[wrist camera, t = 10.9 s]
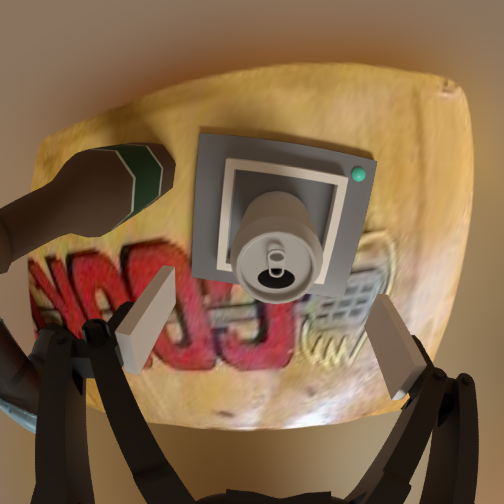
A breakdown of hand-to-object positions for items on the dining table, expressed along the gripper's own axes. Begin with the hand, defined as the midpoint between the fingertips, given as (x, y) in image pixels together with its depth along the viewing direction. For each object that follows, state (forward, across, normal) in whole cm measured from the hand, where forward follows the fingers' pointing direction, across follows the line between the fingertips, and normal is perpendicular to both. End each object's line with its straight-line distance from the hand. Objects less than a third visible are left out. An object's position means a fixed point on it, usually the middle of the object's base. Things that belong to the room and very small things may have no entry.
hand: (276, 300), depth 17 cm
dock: (+17, 0, 0) cm, 17 cm away
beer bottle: (+17, -16, +4) cm, 24 cm away
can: (+16, 0, 0) cm, 16 cm away
